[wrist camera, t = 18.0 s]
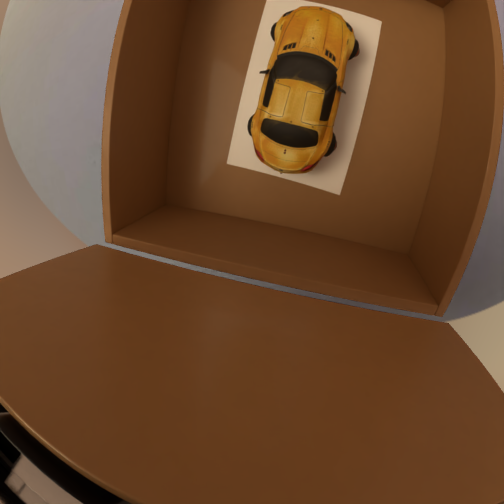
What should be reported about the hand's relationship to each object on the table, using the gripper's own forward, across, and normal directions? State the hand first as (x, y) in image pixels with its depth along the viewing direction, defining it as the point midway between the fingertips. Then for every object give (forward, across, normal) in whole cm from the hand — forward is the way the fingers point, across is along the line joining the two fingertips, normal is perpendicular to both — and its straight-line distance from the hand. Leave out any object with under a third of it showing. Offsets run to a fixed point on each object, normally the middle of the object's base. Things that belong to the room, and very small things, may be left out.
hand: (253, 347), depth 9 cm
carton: (+7, 0, -10) cm, 12 cm away
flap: (-3, 0, -3) cm, 4 cm away
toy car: (+7, 0, -10) cm, 12 cm away
